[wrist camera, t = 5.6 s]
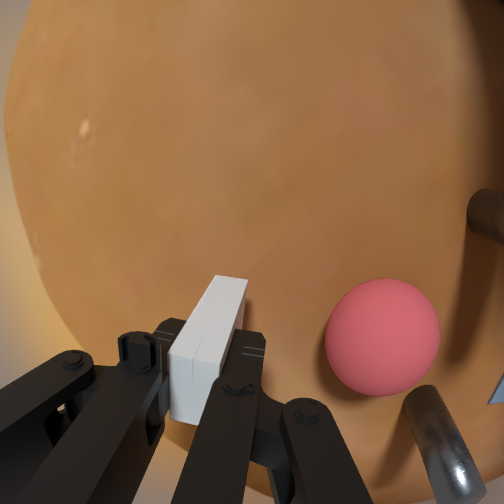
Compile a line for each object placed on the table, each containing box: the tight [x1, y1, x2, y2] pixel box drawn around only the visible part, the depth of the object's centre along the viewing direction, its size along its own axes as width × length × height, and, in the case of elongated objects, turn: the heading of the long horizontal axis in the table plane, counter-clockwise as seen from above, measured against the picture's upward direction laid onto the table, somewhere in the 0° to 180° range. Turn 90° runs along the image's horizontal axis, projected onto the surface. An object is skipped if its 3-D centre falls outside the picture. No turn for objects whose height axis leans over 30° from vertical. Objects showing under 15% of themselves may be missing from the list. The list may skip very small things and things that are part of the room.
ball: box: [325, 279, 440, 397], centre depth 14 cm, size 6×6×6 cm
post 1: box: [403, 385, 486, 504], centre depth 13 cm, size 3×3×9 cm
